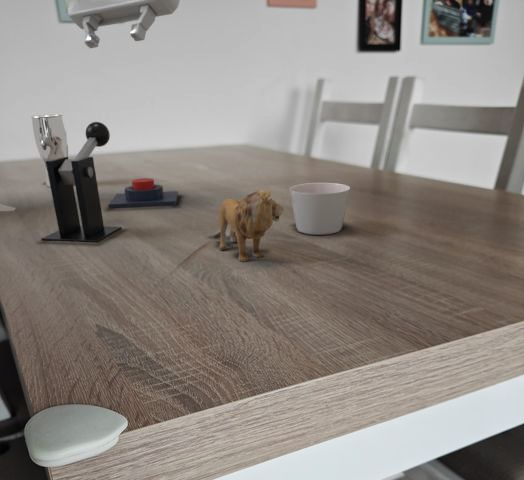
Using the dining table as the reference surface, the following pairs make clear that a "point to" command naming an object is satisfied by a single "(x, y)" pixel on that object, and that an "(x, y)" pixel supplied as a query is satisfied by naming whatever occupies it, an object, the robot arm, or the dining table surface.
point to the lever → (85, 149)
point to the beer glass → (50, 138)
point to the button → (143, 184)
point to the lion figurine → (247, 220)
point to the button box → (144, 198)
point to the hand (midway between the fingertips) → (113, 42)
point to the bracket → (67, 205)
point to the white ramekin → (319, 207)
